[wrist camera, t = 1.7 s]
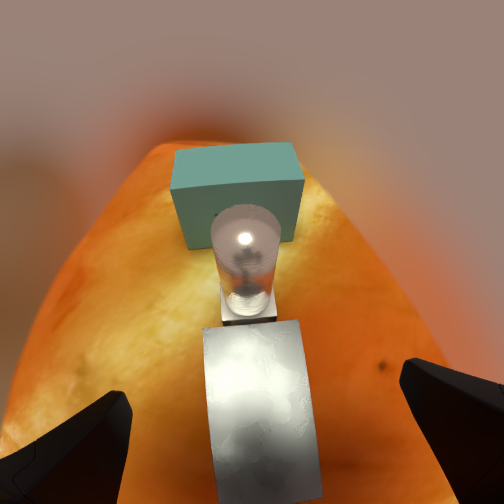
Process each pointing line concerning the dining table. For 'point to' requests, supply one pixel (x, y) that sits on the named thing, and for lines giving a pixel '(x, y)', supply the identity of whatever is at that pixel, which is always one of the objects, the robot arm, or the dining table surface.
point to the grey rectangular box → (261, 414)
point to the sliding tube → (246, 263)
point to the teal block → (235, 186)
